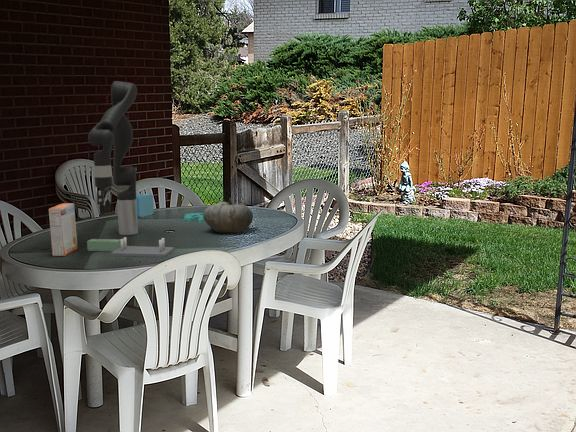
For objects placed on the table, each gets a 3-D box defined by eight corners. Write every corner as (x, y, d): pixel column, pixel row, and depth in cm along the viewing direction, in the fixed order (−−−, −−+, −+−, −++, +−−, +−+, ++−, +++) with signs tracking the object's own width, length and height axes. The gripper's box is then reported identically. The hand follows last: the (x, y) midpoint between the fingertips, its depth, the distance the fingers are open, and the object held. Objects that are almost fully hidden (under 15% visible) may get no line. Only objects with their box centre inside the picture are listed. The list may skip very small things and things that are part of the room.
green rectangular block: (92, 248, 306) (91, 239, 305) (122, 249, 304) (121, 239, 303) (87, 251, 301) (87, 241, 300) (118, 251, 299) (117, 241, 299)
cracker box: (65, 249, 304) (62, 202, 300) (78, 249, 303) (75, 203, 300) (51, 256, 290) (47, 208, 287) (64, 256, 290) (61, 208, 286)
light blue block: (147, 214, 394) (146, 193, 392) (153, 214, 392) (153, 193, 390) (133, 217, 384) (132, 196, 382) (140, 217, 382) (139, 196, 380)
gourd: (204, 232, 327) (207, 196, 327) (199, 231, 351) (201, 197, 351) (256, 234, 332) (258, 199, 332) (247, 233, 357) (249, 200, 357)
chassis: (122, 248, 304) (122, 234, 303) (174, 249, 301) (174, 236, 300) (110, 255, 291) (109, 241, 290) (164, 257, 288) (164, 242, 286)
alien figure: (227, 218, 380) (202, 215, 392) (226, 214, 379) (202, 211, 392) (200, 224, 365) (175, 219, 377) (200, 220, 364) (175, 216, 377)
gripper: (107, 177, 290) (109, 215, 292) (116, 174, 304) (117, 210, 307) (89, 177, 290) (92, 215, 293) (99, 174, 304) (101, 210, 307)
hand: (105, 212), depth 300 cm, fingers open, 8 cm apart
